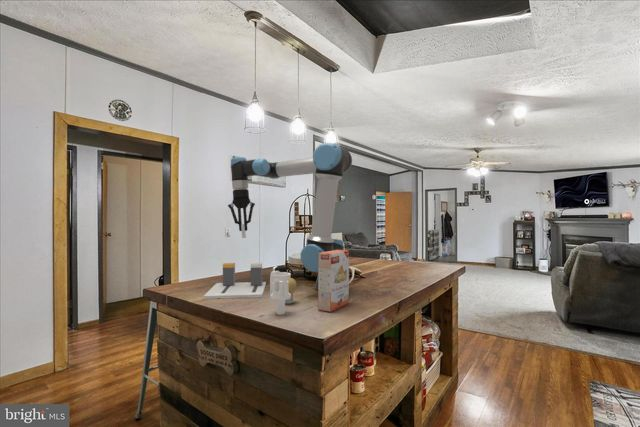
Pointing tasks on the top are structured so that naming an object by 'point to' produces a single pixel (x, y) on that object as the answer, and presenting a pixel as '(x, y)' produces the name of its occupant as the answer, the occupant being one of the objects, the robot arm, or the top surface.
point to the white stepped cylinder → (280, 290)
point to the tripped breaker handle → (228, 274)
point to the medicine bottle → (277, 268)
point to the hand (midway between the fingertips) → (243, 237)
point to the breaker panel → (235, 291)
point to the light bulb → (291, 289)
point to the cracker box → (333, 280)
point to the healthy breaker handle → (256, 274)
